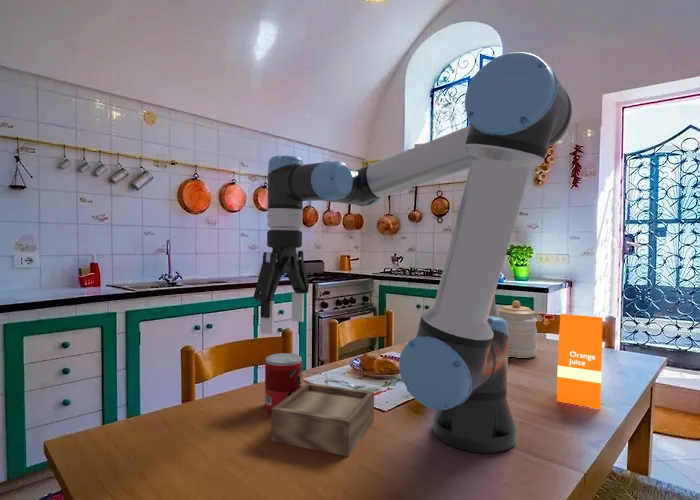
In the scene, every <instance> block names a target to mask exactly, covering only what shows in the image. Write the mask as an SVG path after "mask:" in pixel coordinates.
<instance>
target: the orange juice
mask: <svg viewBox="0 0 700 500" xmlns="http://www.w3.org/2000/svg"><path fill="white" fill-rule="evenodd" d="M559 317H560V318H559V330H558V331H559V332H558V349H557V351H558V352H557V373H556V374H557V387H556V391H557V392H556V402H557V401H559V402H564V403H570V404H575V405H580V406H579V407H581V406H586V407H592V408H598V409H600V410H601V404H602V403H601V395H602V375H603V374H602V373H603V372H602V365H603V317H600V316H590V315H589V316H588V315H578V314H567V313H560V315H559ZM559 402H558V403H559ZM564 403H563V404H564ZM570 404H569V405H570ZM575 405H574V406H575ZM586 407H585V408H586ZM592 408H591V409H592Z"/></svg>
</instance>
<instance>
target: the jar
mask: <svg viewBox="0 0 700 500" xmlns="http://www.w3.org/2000/svg"><path fill="white" fill-rule="evenodd" d="M497 312H498V317H499V318H502V319H504V320H505V321H506V322H507V324H508V334H509V339H508V356H511V357H521V358H526V357H533V356H535V355H536V356H537V352H538V351H537V350H538V349H537V335H538V334H537V332H538V329H537V325H536V323H537V322H538V319H537V317H535V315H534V314H536V312H535V310H532V309H531V308H530V307H527V306H523V305H521V302H520V301H519V300H513V301H512V303H511V305H502V307H500V308H499V309H497ZM536 356H535V357H536Z"/></svg>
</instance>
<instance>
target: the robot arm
mask: <svg viewBox="0 0 700 500" xmlns="http://www.w3.org/2000/svg"><path fill="white" fill-rule="evenodd" d="M572 107H573V105H572V102H571V98H570V96H569V94H568V92H567V91H566V89H565V88H564V87H563V86H562V84H561V82H560V80H559V79H558V77H557V74H556V72H555V71H554V69H553V67H552V66H550V64H548V63H547V62H545V61H544V60H542V59H541V58H540V57H539V56H537V55H535V54H532V53H530V52H529V53H528V52H525V51H524V52H522V51H514V52H508V53H504V54H501V55H499V56H497V57H494V58H493V59H491V60H490V61H488V62H487V63H486V64H485V65H483V66H482V67H481V68H480V69H478V71H477V72H476V73H475V74H474V76H472V78H471V81H470V82H469V84H468V86H467V88H466V92H465V97H464V110H465V112H466V117H467V119H468V121H469V123H470V124H469V125H468V126H465V127H463V128H460V129H458V130H455V131H453V132H450V133H448V134H445V135H443V136H439V137H437V138H434V139H432V140H430V141H427V142H425V143H422V144H419V145H417V146H415V147H412V148H409V149H407V150H404V151H402V152H400V153H396V154H394V155H392V156H389V157H386V158H383V159H382V160H379V161H376V162H374V163H371V164H369V165H366V166H364V167H362V168H358V169H351V168H349V167H348V166H347V165H346V163H345V162H344V161H339V160H338V161H335V160H334V161H332V160H331V161H330V160H326V161H325V160H324V161H323V162H316V163H315V162H313V163H307V164H304V160H303V159H302V158H301V157H299V156H295V155H274V156H272V157H270V159H269V160H268V166H267V174H266V175H267V176H266V177H267V214H266V219H267V228H269V230H267V231H266V245H267V247H268V248H272V249H271V251H272V252H270V251H269V252H268V251H267V252H266V251H265V252H263V254H262V263H261V267H260V271H259V274H258V278H257V282H256V286H255V290H254V294H253V299H254V300H255V301H256V302H260V330H259V331H260V334H265V335H266V334H267V335H274V334H275V301H273V299H274V296H275V293H276V291H277V289H278V286H279V283H280V281H281V278H282V276H284V275H287V277H288V279H289V283H290V285H291V287H292V289H293V291H294V292H291V293H292V294H291V321H292V322H298V323H299V322H301V323H303V322H304V318H305V315H304V314H305V311H304V310H305V306H304V305H305V303H304V302H305V294H308V293H309V288H310V285H309V279H308V276H307V275H308V274H307V272H306V266H305V261H304V251H303V250H297V249H300V248H301V247H303V232H302V230H301V229H302V228H303V214H304V213H303V202H306V201H307V202H311V201H315V202H316V201H317V202H318V201H321V202H329V203H331V202H332V203H340V204H347V205H355V206H359V207H364V206H368V207H369V206H372V205H375V204H377V203H378V202H379V201H380V199H382V198H383V197H387V196H389V195H393V194H395V193H399V192H402V191H404V190H407V189H411V188H413V187H417V186H421V185H423V184H427V183H429V182H432V181H435V180H438V179H441V178H445V177H447V176H451V175H454V174H456V173H457V174H458V173H459V172H460V173H461V172H462V171H466V170H468V169H469V170H468V173H467V177H466V181H465V186H464V188H463V193H462V195H461V196H462V197H461V200H460V204H459V208H458V212H457V216H456V219H455V223H454V226H453V231H452V235H451V238H450V242H449V247H448V250H447V252H446V253H447V254H446V258H445V262H444V265H443V270H442V273H441V277H440V281H439V284H438V289H437V293H436V296H435V299H434V303H433V305H432V306H431V307H429V308H427V309H425V310H424V311H423V312H422V314H421V316H420V321H419V323H418V328H417V331H416V336H415V337H414V338H413V339H412V338H411V340H409V341H408V342H407V344H406V345H405V346H404V347H403V349H402V350H401V353H400V356H399V359H398V360H399V361H398V369H399V371H398V372H399V374H400V378H401V381H402V383H403V384H404V385H405V387H406V390H407V392H408V393H409V394H410V395H411V397H413V399H415V400H416V401H417V402H418V403H420V404H422V405H423V406H425V407H427V408H430V409H433V410H435V413H434V417H433V433H434V435H435V436H436V437H437V438H438V439H439V441H441V442H443V443H445V444H446V445H448V446H450V447H453V448H456V449H458V450H463V451H468V452H472V453H479V454H481V453H483V454H494V453H501V452H505V451H507V450H511V448H513V447H514V446H515V445H516V441H517V440H516V439H517V429H516V425H515V421H514V418H513V414H512V411H511V408H510V405H509V402H508V397H507V395H508V391H507V390H508V364H509V363H508V361H509V360H508V359H509V357H508V339H509V334H508V324H507V322H506V321H505V320H504V319H502V318H499V317H493V316H489V312H490V309H491V305H492V302H493V298H494V295H495V296H496V290H497V288H498V283H499V280H500V276H501V272H502V269H503V265H504V263H505V259H506V256H507V252H508V249H509V245H510V242H511V238H512V234H513V231H514V228H515V223H516V221H517V216H518V214H519V209H520V208H521V207H520V206H521V202H522V200H523V196H524V192H525V189H526V185H527V182H528V179H529V175H530V172H531V171H532V170H533V169H535V168H536V167H538V166H539V165H541V164H543V163H544V162H545V158H546V155H547V152H548V149H549V148H550V147H552V146H553V145H555V144H556V143H557V142H559V140H561V138H562V137H563V136H564V135H565V134H566V132H567V130H568V128H569V125H570V123H571V121H572V114H573V109H572Z"/></svg>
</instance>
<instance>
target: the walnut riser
mask: <svg viewBox="0 0 700 500" xmlns="http://www.w3.org/2000/svg"><path fill="white" fill-rule="evenodd" d="M374 405H375V392H374V391H370V390H369V391H368V390H363V389H362V390H361V389H356V388H355V389H354V388H346V387H339V386H334V385H333V386H331V385H327V384H319V383H313V382H306V383H305V384H304V385H302V387H301V388H299V389H298V390H297V391H295V392H294V393H293V394H291V395H290V396H288V397H287V398H286V399H284V400H283V401H282V402H280V403H279V404H277V405H276V406H275V407H273V408H272V413H271V440H270V441H271V442H273V443H274V442H275V443H278V444H284V445H289V446H295V447H300V448H304V449H309V450H310V449H311V450H314V451H320V452H326V453H330V454H335V455H338V456H339V455H340V456H345V457H349V456H350V455H351V454H352V452H353V451H354V449H355V448H356V447H357V445H358V444H359V442H360V441H361V440H362V438H363V437H364V436H365V434H366V433H367V432H368V430H369V429H370V427H371V426H372V424H373V423H375V422H374V420H375V406H374Z"/></svg>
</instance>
